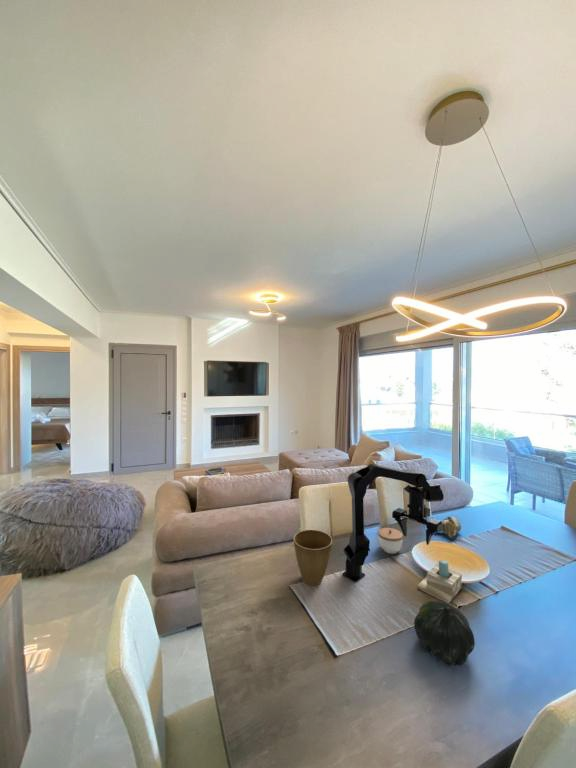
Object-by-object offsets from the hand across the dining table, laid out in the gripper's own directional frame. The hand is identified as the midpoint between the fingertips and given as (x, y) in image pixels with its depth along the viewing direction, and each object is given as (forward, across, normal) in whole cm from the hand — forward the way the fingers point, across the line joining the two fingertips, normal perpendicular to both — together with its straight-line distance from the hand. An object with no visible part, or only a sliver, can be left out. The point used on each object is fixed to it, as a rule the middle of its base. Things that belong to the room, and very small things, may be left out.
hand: (416, 540), depth 127 cm
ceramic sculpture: (+12, +3, -42) cm, 44 cm away
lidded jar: (+12, +15, -6) cm, 20 cm away
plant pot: (+12, +24, +36) cm, 45 cm away
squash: (+12, -23, +32) cm, 41 cm away
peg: (+11, -12, +3) cm, 16 cm away
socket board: (+12, -11, +5) cm, 17 cm away
